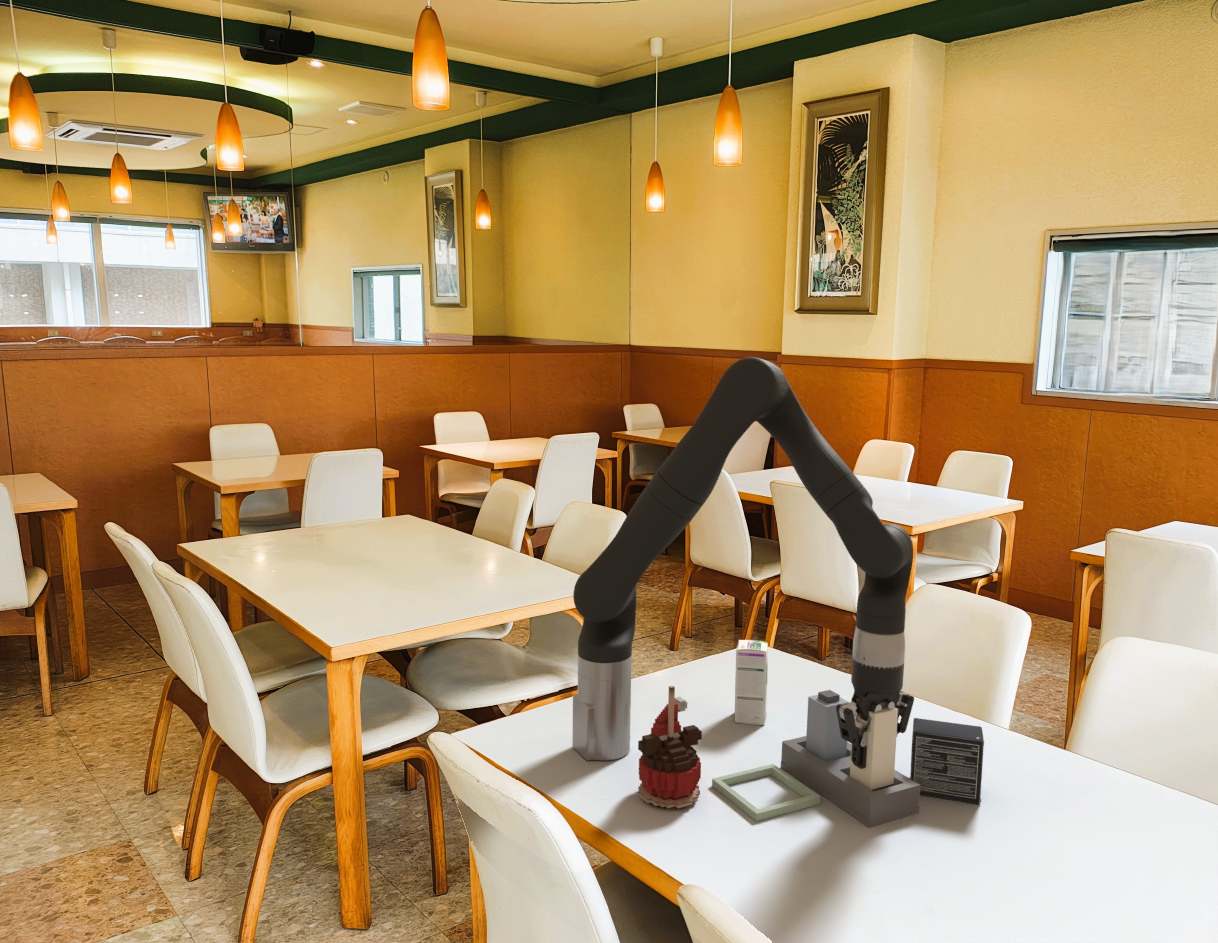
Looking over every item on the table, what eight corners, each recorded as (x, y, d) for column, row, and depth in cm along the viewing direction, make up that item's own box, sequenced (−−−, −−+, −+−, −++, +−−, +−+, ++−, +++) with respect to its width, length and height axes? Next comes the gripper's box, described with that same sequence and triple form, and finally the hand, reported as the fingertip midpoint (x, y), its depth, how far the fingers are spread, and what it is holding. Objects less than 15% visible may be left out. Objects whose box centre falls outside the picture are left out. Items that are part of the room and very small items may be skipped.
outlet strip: (868, 827, 133) (870, 798, 132) (780, 767, 152) (781, 741, 151) (918, 812, 137) (920, 784, 137) (827, 755, 156) (828, 730, 155)
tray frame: (756, 821, 134) (756, 813, 134) (711, 785, 145) (712, 778, 145) (820, 803, 140) (820, 796, 139) (772, 770, 150) (773, 763, 150)
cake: (654, 818, 135) (657, 703, 132) (624, 790, 143) (626, 682, 140) (714, 802, 140) (717, 691, 137) (682, 776, 148) (685, 671, 145)
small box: (978, 786, 146) (983, 725, 144) (980, 805, 140) (985, 741, 138) (909, 775, 149) (913, 715, 148) (908, 793, 143) (913, 731, 142)
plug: (870, 790, 136) (875, 708, 134) (849, 777, 140) (853, 697, 138) (893, 783, 138) (898, 702, 136) (872, 771, 142) (876, 692, 140)
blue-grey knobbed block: (823, 777, 146) (827, 701, 144) (805, 765, 150) (808, 690, 148) (845, 771, 148) (849, 696, 146) (826, 760, 152) (830, 686, 150)
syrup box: (765, 726, 168) (768, 650, 166) (733, 722, 169) (736, 648, 167) (766, 713, 173) (769, 640, 171) (735, 710, 174) (737, 638, 172)
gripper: (859, 672, 130) (853, 783, 132) (931, 657, 136) (924, 764, 139) (824, 655, 137) (819, 762, 139) (895, 642, 143) (889, 744, 145)
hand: (872, 762), depth 139 cm, fingers closed on plug, 4 cm apart
